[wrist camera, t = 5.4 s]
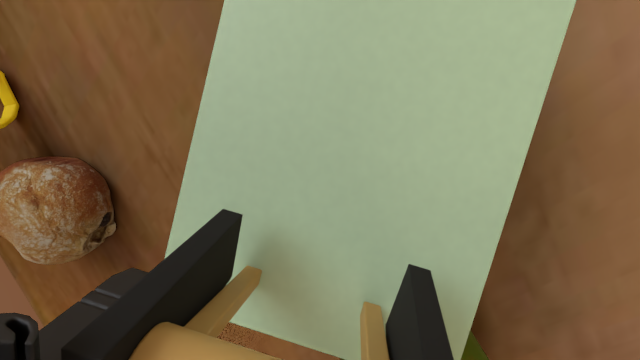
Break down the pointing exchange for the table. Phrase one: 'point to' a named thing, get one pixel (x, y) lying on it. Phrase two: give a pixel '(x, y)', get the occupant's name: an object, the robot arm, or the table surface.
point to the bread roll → (54, 209)
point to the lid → (358, 163)
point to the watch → (7, 102)
